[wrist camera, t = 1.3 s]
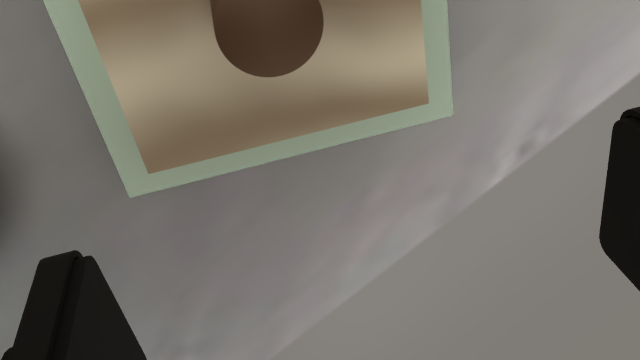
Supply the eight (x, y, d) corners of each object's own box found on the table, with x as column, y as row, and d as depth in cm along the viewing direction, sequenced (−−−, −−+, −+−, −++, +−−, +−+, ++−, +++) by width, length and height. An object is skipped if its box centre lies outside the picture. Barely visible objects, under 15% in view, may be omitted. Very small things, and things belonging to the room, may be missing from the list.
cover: (423, 96, 30) (460, 141, 26) (149, 165, 29) (144, 223, 25) (395, -239, 22) (442, -247, 18) (19, -159, 21) (-18, -150, 17)
